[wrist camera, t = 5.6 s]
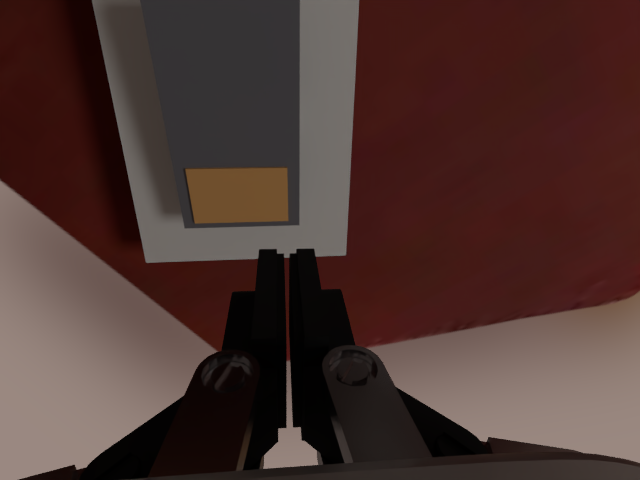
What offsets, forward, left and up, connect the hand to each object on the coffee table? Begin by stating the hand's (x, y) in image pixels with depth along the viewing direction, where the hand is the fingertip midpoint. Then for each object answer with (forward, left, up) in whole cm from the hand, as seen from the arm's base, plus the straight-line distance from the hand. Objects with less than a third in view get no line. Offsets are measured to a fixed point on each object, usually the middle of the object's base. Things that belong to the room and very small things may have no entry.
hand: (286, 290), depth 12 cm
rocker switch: (-3, -3, -15) cm, 15 cm away
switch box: (-3, -3, -22) cm, 22 cm away
